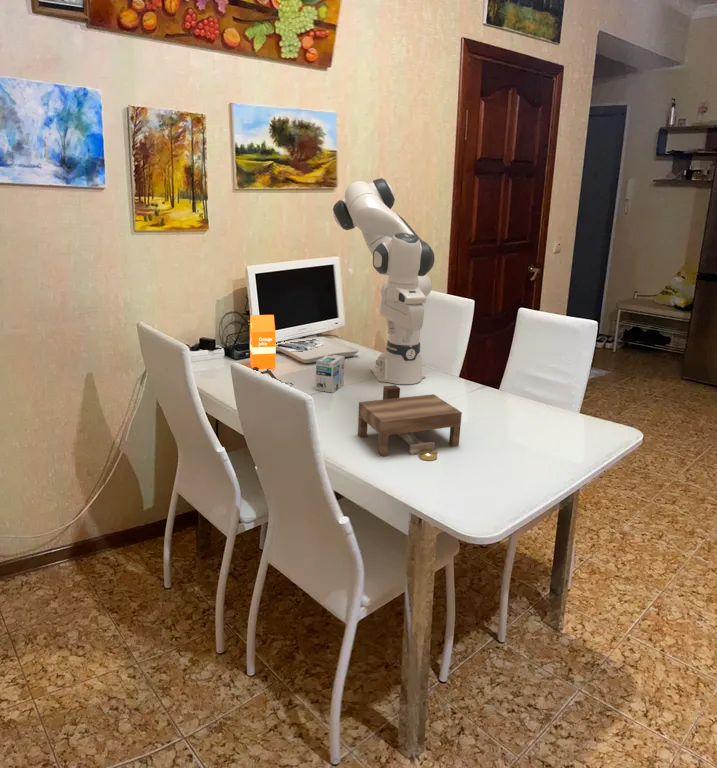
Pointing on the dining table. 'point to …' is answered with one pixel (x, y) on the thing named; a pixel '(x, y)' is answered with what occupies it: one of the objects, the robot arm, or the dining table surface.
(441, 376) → the dining table surface
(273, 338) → the orange juice
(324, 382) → the light bulb box
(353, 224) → the robot arm
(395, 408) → the wooden footstool
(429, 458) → the token
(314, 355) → the square plate
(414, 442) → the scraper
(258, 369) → the hacksaw
